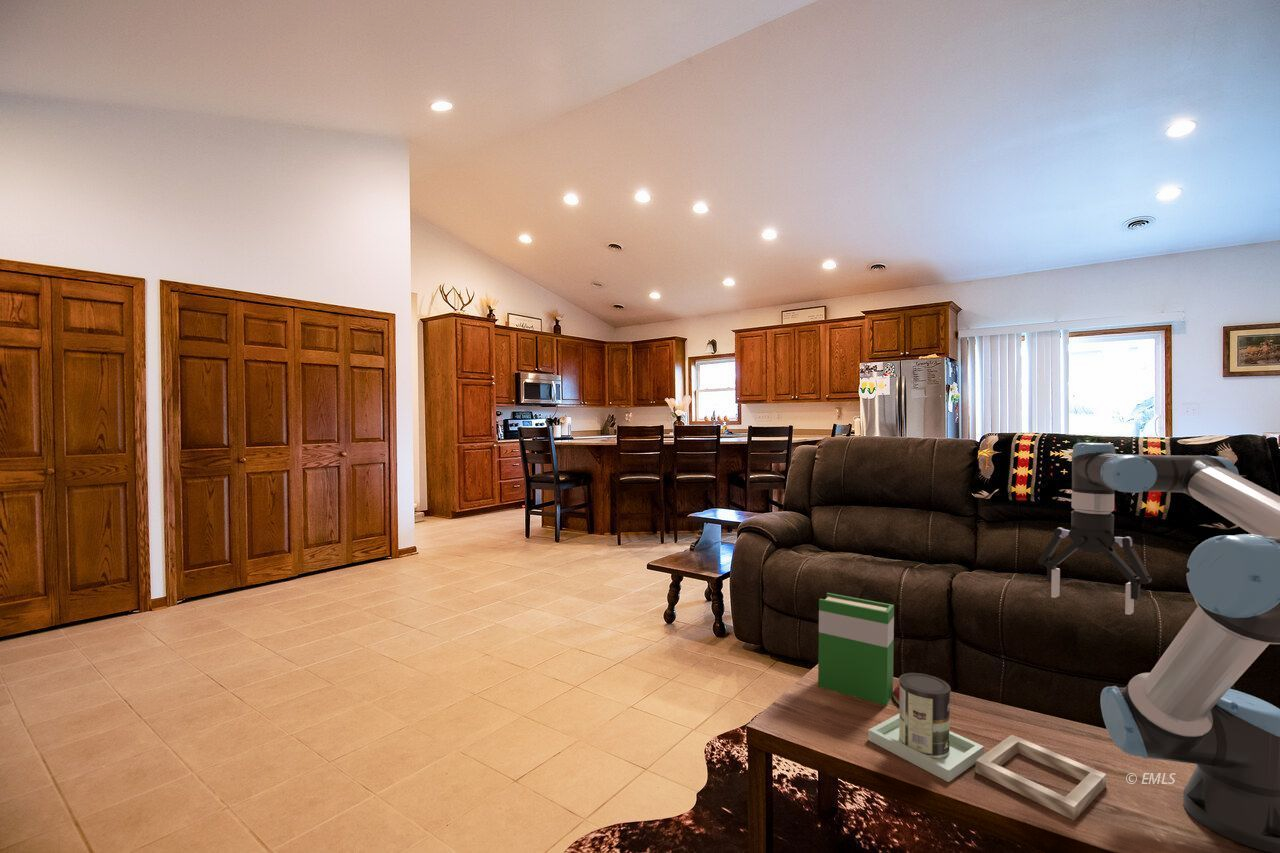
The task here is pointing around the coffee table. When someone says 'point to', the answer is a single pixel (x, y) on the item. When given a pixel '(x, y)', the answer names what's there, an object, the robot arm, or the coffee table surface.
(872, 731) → the tray
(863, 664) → the hardback book
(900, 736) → the coffee can
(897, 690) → the red apple half
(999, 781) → the wooden collar
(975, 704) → the coffee table surface
